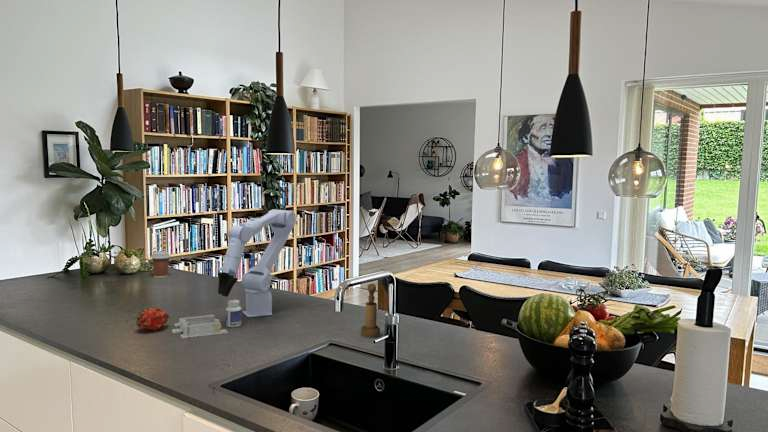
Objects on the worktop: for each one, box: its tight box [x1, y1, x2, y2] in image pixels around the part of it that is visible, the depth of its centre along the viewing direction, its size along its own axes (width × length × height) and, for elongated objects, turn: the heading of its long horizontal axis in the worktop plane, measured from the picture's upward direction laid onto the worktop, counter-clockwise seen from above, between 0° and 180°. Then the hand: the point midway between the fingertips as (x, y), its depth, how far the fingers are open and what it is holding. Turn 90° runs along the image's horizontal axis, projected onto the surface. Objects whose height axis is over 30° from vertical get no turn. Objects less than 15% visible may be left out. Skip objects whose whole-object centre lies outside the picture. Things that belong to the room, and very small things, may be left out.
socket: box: [171, 314, 229, 339], centre depth 188 cm, size 17×16×3 cm
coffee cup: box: [150, 251, 171, 279], centre depth 270 cm, size 9×9×12 cm
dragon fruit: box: [136, 306, 170, 332], centre depth 186 cm, size 8×8×12 cm
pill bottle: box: [225, 299, 242, 328], centre depth 194 cm, size 5×5×9 cm
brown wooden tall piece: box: [360, 283, 381, 339], centre depth 187 cm, size 7×6×18 cm
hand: (222, 295), depth 192 cm, fingers open, 7 cm apart
